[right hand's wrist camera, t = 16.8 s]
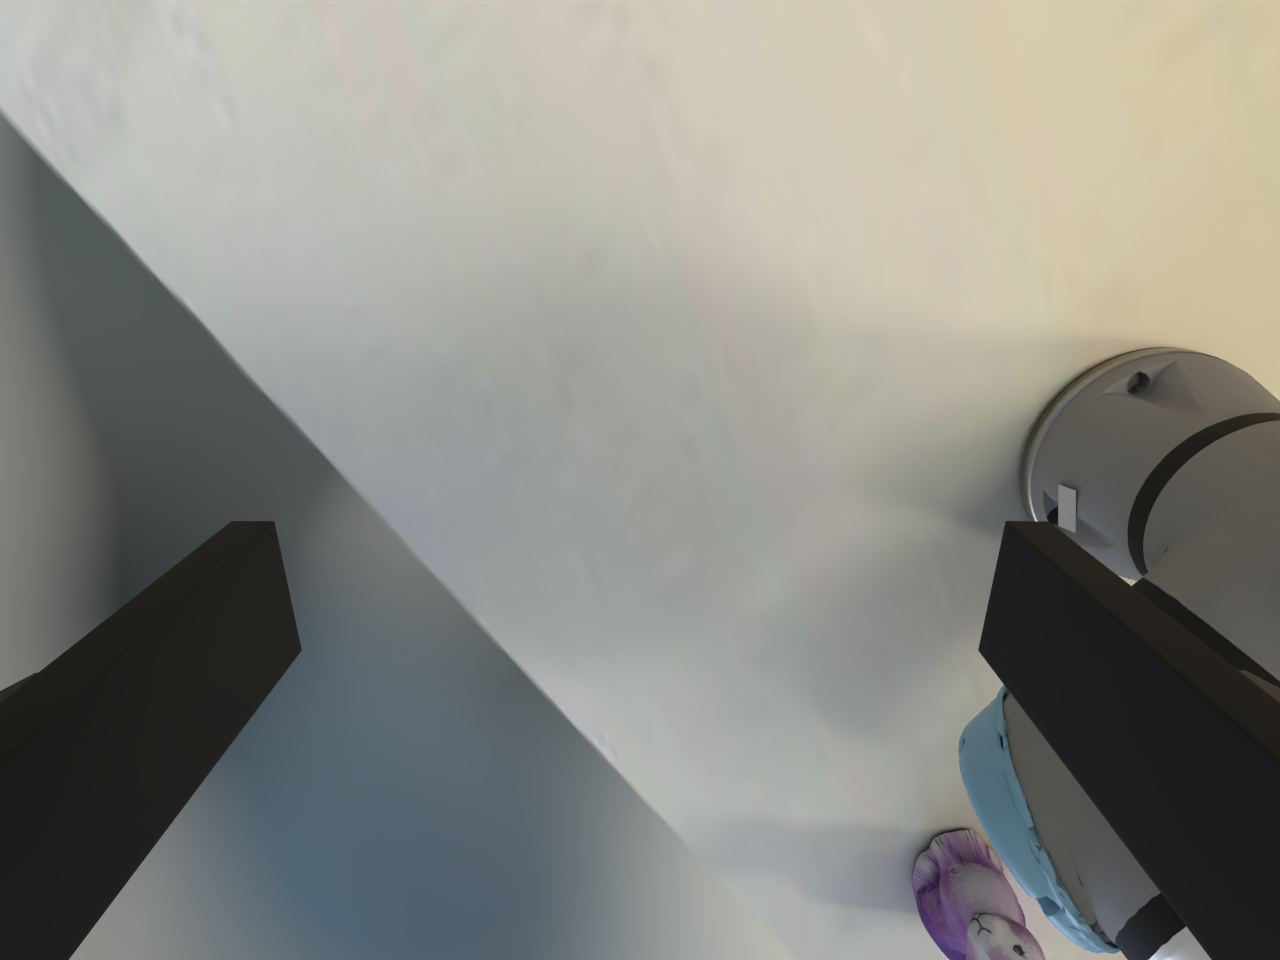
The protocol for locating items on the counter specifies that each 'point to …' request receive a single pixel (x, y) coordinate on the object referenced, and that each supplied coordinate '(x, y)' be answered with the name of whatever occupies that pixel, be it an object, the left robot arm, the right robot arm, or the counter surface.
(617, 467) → the counter surface
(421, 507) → the counter surface
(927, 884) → the figurine
